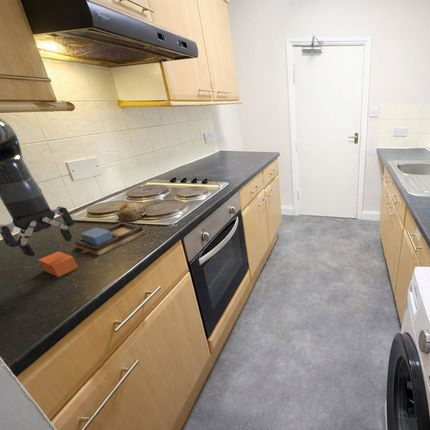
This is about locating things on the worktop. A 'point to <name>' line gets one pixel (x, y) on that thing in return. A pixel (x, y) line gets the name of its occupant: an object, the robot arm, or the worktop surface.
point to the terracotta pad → (58, 263)
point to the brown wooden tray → (120, 236)
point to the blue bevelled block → (96, 236)
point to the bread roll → (131, 211)
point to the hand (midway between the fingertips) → (50, 247)
